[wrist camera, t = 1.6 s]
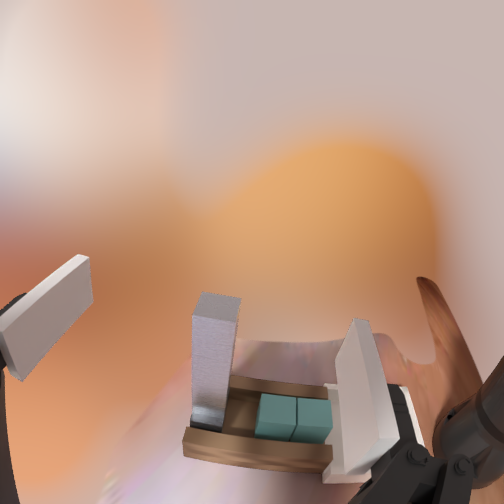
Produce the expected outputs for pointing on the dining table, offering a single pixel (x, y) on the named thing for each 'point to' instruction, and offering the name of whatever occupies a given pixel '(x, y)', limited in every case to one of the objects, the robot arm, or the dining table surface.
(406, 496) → the robot arm
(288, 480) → the dining table surface
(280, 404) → the teal block
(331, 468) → the tray
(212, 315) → the brushed metal bar
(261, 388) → the channel
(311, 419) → the teal cube
